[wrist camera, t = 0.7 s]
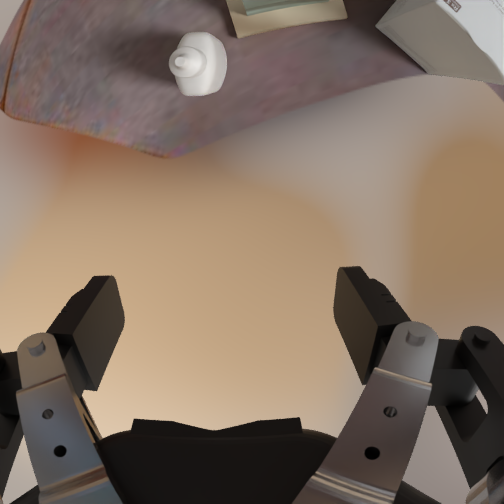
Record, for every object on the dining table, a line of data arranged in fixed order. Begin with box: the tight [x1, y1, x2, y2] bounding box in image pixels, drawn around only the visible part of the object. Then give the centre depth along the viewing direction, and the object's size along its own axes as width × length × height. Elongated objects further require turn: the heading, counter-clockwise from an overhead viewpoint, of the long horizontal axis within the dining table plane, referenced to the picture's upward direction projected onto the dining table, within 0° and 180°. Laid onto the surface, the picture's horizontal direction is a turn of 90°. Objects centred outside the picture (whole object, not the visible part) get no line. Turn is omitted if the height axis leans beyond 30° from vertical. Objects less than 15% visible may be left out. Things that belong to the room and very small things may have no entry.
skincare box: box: [375, 0, 504, 85], centre depth 18 cm, size 8×6×15 cm
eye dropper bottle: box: [169, 32, 227, 96], centre depth 23 cm, size 4×6×12 cm
